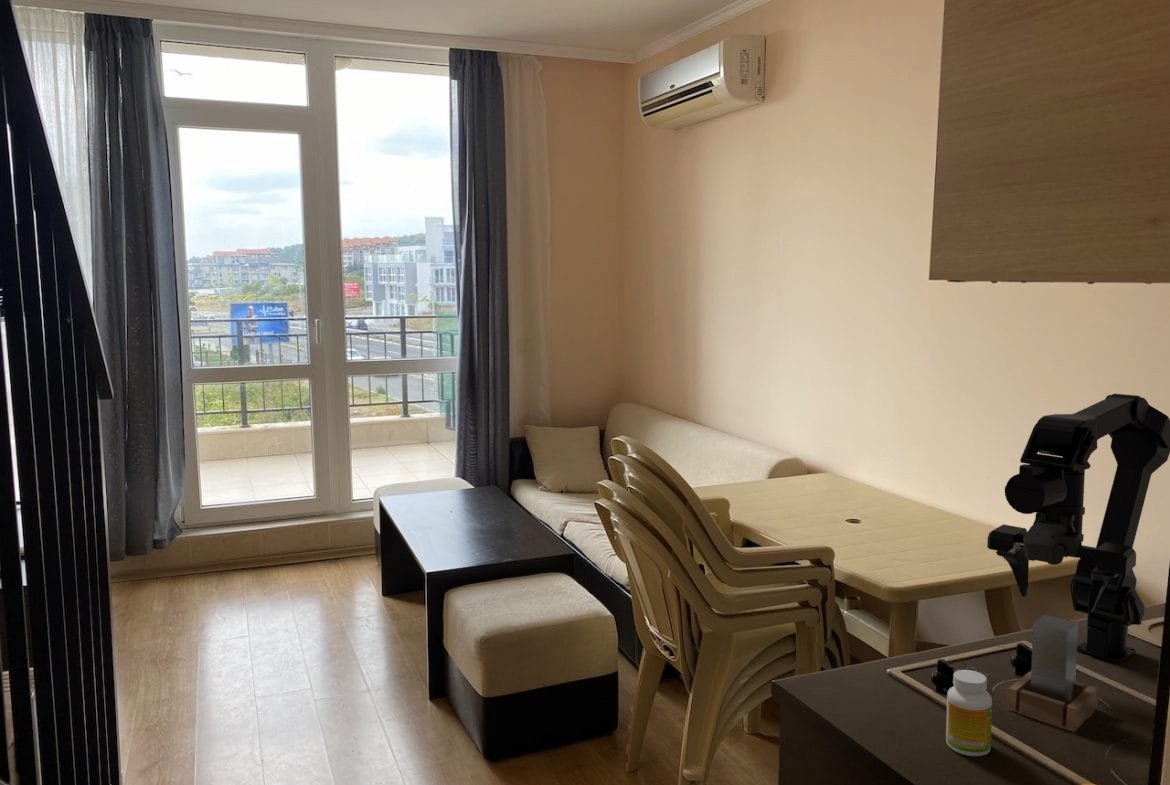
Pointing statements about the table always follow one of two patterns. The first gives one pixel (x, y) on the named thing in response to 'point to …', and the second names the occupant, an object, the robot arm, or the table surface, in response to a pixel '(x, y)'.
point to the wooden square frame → (1052, 704)
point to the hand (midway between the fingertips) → (1056, 603)
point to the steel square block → (1054, 658)
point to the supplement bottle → (969, 714)
